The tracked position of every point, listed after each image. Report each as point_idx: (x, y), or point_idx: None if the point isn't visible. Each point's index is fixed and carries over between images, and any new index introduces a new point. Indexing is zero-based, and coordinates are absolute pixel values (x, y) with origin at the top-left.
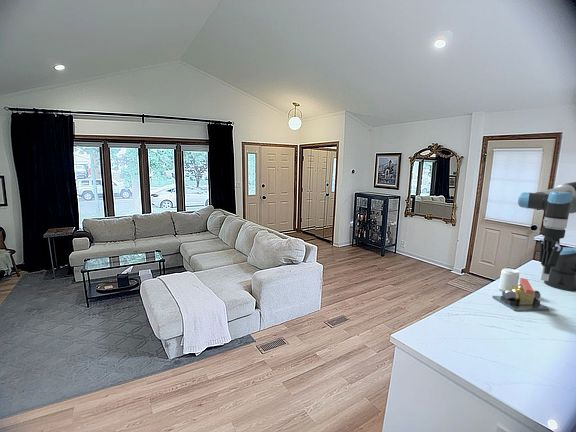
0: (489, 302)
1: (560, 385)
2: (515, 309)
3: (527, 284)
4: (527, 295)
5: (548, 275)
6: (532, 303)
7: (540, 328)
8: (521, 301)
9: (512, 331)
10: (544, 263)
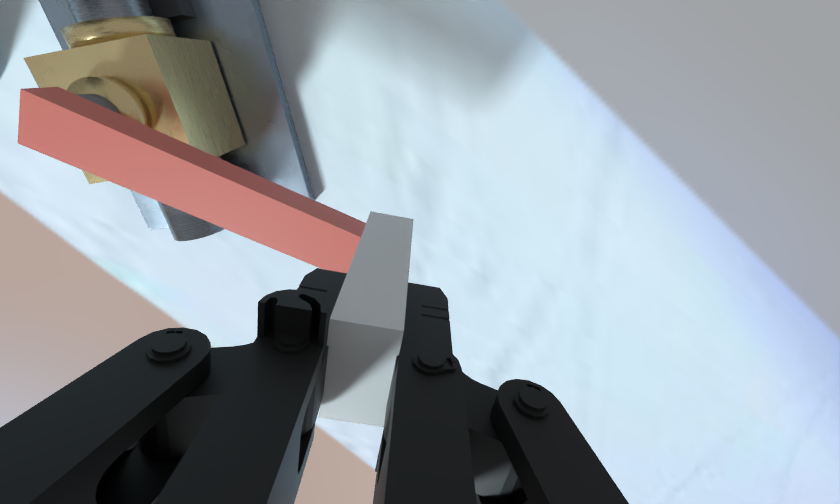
0: (237, 273)
1: (835, 374)
2: (310, 197)
3: (215, 195)
4: (195, 103)
5: (407, 255)
6: (206, 42)
7: (499, 188)
8: (232, 136)
9: (531, 330)
10: (315, 419)
